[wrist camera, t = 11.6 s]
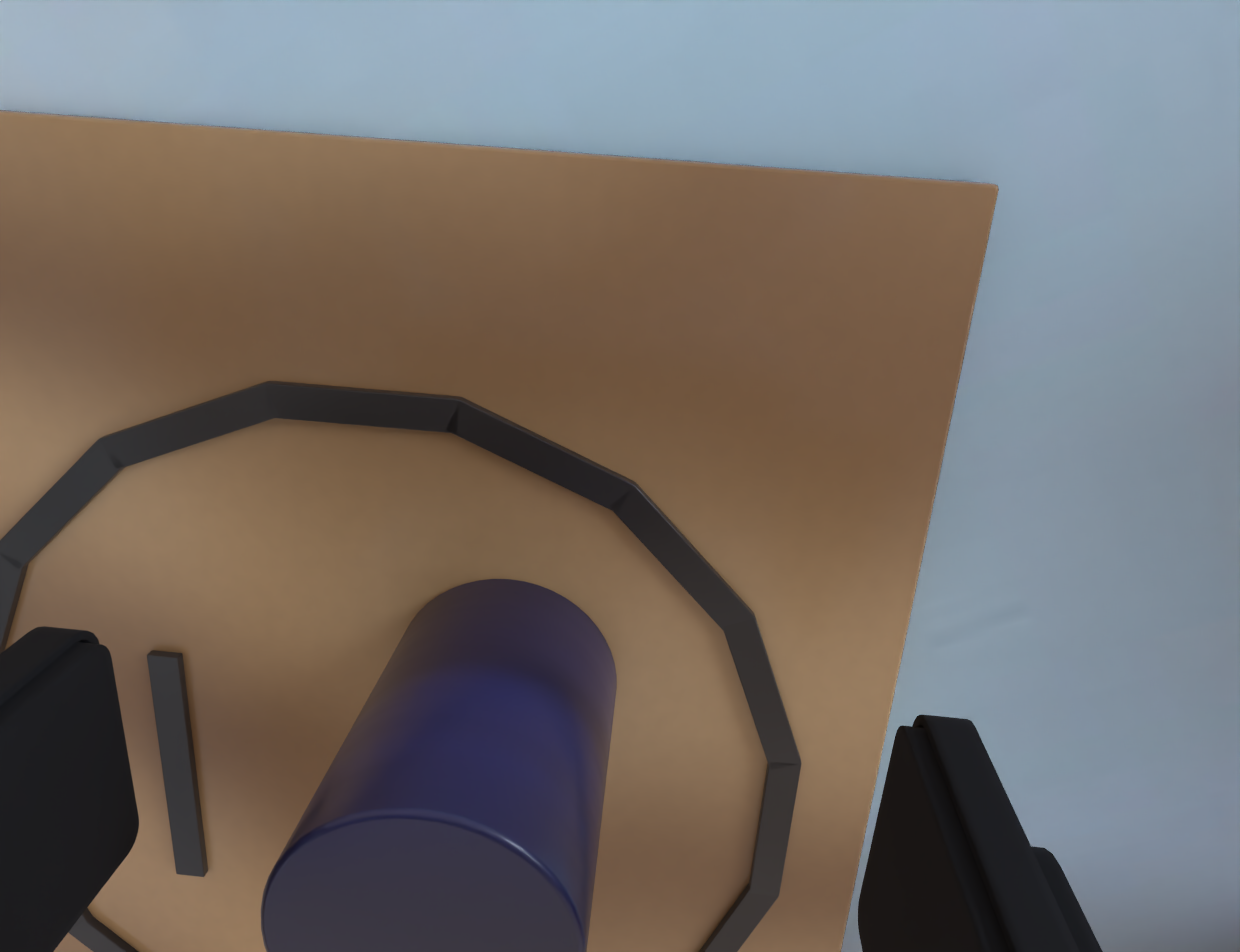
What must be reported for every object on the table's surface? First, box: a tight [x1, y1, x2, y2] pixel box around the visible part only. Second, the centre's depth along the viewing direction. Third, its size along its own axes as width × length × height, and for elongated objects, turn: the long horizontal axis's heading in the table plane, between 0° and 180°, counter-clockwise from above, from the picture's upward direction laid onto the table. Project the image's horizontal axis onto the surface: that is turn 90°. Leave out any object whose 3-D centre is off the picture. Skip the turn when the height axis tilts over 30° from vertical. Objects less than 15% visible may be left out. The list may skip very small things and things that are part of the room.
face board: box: [0, 110, 999, 952], centre depth 15 cm, size 20×16×1 cm
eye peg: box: [261, 579, 617, 952], centre depth 12 cm, size 3×3×5 cm
